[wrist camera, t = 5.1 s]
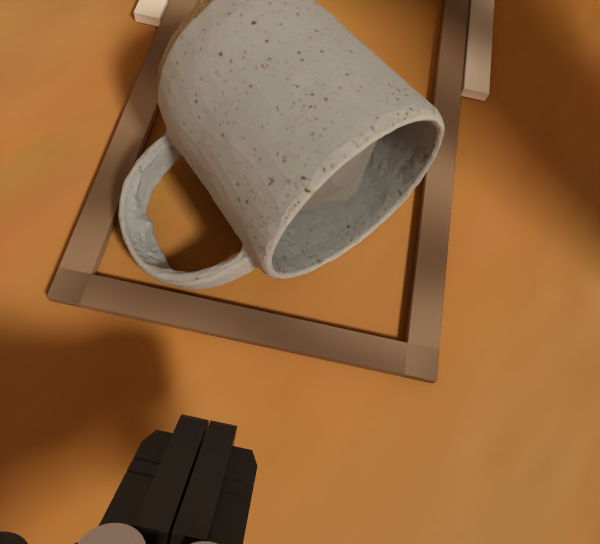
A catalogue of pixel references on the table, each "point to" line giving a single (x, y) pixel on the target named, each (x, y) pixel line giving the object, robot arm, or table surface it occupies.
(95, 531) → the robot arm
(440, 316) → the bay
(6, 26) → the table surface
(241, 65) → the ceramic mug
